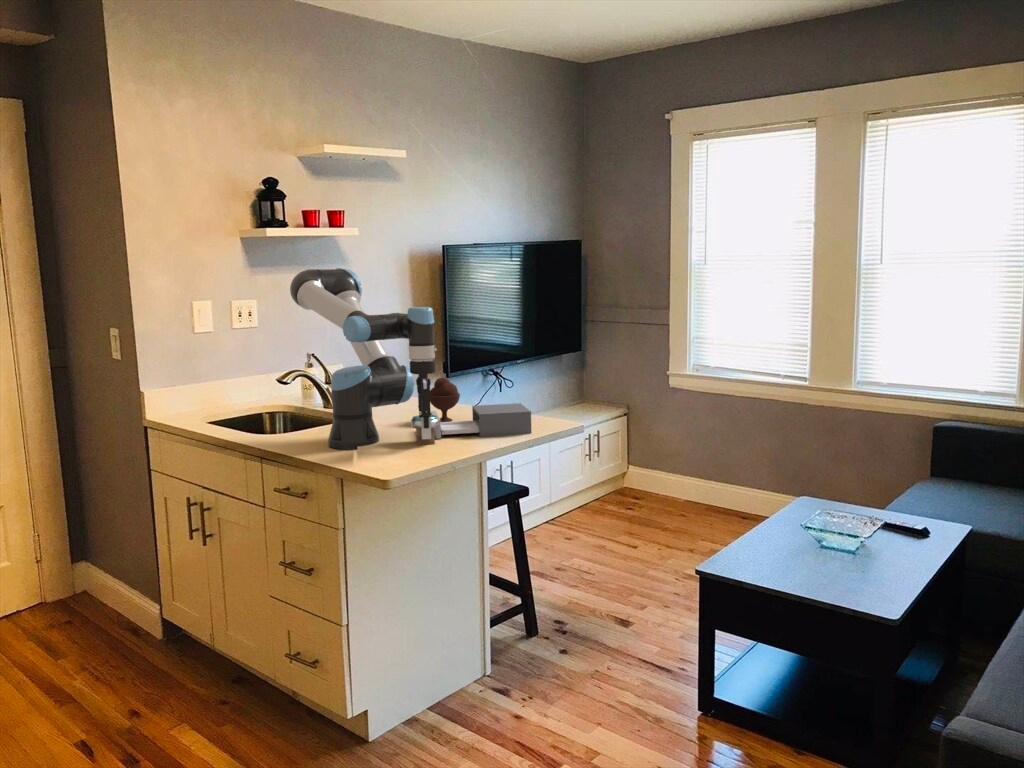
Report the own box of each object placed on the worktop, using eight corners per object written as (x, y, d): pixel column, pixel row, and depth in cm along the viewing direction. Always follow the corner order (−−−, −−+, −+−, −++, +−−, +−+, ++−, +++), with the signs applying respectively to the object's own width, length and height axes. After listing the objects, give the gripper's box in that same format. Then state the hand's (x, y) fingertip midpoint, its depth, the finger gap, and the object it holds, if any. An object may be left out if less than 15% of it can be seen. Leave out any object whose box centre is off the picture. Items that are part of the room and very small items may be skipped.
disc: (412, 429, 241) (411, 419, 241) (410, 424, 249) (410, 415, 248) (439, 427, 242) (439, 418, 242) (437, 423, 250) (436, 414, 250)
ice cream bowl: (422, 423, 278) (420, 379, 276) (440, 418, 287) (439, 375, 285) (449, 425, 273) (447, 380, 271) (466, 420, 282) (465, 376, 280)
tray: (436, 438, 251) (435, 419, 250) (431, 428, 267) (430, 411, 266) (488, 435, 254) (487, 417, 253) (480, 426, 270) (480, 408, 269)
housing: (480, 436, 253) (479, 414, 252) (472, 426, 270) (472, 405, 269) (531, 433, 256) (531, 411, 255) (521, 424, 272) (520, 403, 271)
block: (417, 444, 243) (417, 428, 243) (416, 441, 248) (415, 425, 248) (434, 443, 244) (434, 427, 244) (433, 440, 249) (432, 424, 248)
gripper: (438, 362, 233) (441, 442, 236) (432, 356, 254) (434, 429, 257) (411, 364, 232) (415, 443, 235) (407, 357, 252) (410, 430, 255)
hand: (425, 436), depth 246 cm, fingers closed on disc, 8 cm apart
